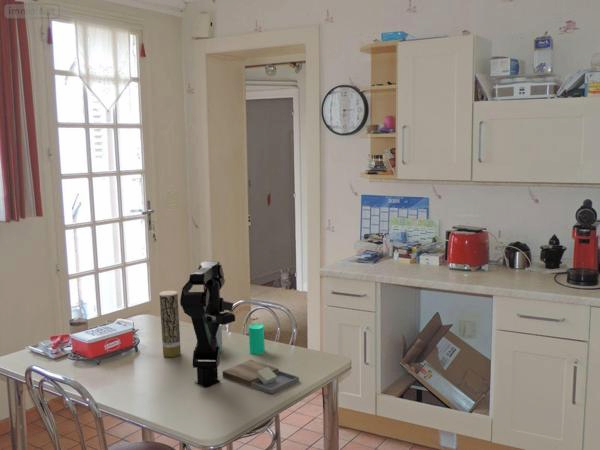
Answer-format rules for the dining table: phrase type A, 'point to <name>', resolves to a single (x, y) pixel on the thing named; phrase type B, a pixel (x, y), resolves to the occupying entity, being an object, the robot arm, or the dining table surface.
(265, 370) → the tile
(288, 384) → the tray
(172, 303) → the brown bark cylinder
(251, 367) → the walnut board
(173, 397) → the dining table surface
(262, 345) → the candle
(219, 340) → the light bulb box
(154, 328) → the dining table surface
